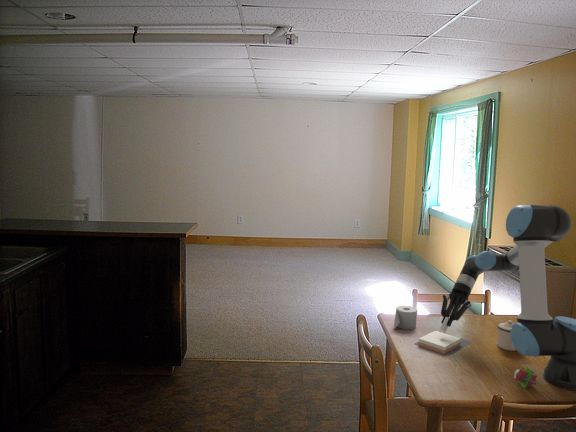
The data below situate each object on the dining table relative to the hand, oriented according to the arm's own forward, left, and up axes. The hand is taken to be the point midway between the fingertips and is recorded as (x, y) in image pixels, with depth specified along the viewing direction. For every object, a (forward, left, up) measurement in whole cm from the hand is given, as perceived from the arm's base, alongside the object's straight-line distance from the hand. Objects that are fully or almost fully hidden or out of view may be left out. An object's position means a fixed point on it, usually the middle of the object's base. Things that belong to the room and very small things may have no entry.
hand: (442, 331), depth 213 cm
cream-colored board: (+3, -4, -4) cm, 7 cm away
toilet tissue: (+22, +8, -6) cm, 25 cm away
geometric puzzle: (-39, -13, -6) cm, 41 cm away
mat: (+1, -2, -6) cm, 6 cm away
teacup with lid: (-4, -29, -6) cm, 30 cm away
